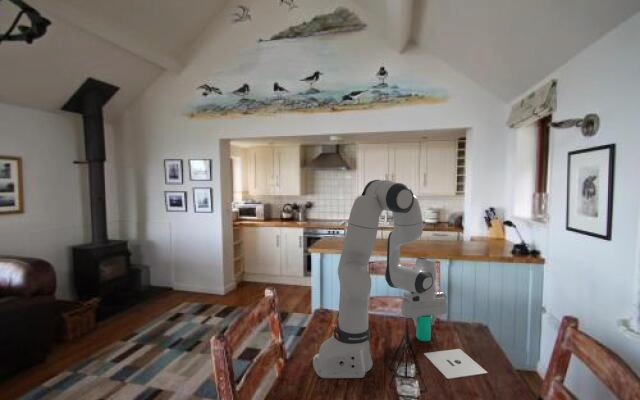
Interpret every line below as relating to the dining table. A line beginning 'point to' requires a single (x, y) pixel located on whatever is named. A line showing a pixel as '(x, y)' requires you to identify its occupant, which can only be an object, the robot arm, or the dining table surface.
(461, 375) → the tile
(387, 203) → the robot arm
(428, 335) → the candle
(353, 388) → the dining table surface
